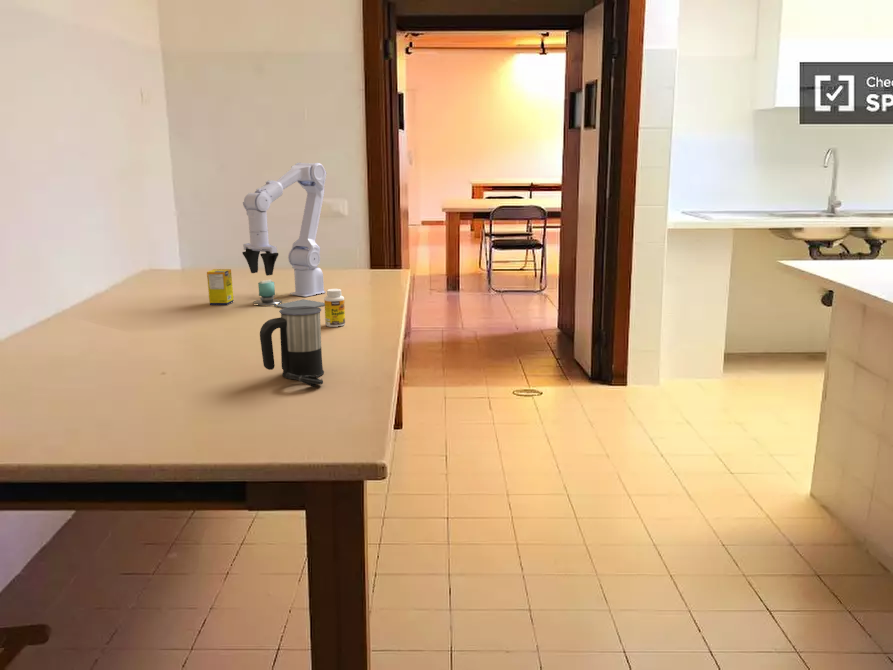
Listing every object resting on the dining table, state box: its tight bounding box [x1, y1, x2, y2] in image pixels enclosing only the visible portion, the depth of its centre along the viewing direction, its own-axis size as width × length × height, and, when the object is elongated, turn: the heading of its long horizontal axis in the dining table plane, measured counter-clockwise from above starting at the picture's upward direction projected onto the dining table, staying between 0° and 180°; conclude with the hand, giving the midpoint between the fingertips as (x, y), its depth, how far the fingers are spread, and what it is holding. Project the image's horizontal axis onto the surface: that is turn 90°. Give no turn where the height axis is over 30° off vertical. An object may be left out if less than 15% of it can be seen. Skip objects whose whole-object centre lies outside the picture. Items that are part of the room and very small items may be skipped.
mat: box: [273, 298, 325, 309], centre depth 253 cm, size 12×12×1 cm
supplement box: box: [206, 268, 235, 306], centre depth 257 cm, size 6×6×11 cm
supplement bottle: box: [323, 288, 346, 328], centre depth 224 cm, size 6×6×10 cm
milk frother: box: [259, 306, 325, 388], centre depth 172 cm, size 14×16×15 cm
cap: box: [257, 279, 276, 297], centre depth 256 cm, size 5×5×5 cm
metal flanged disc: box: [252, 295, 283, 305], centre depth 257 cm, size 9×9×3 cm
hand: (261, 273), depth 254 cm, fingers open, 7 cm apart
